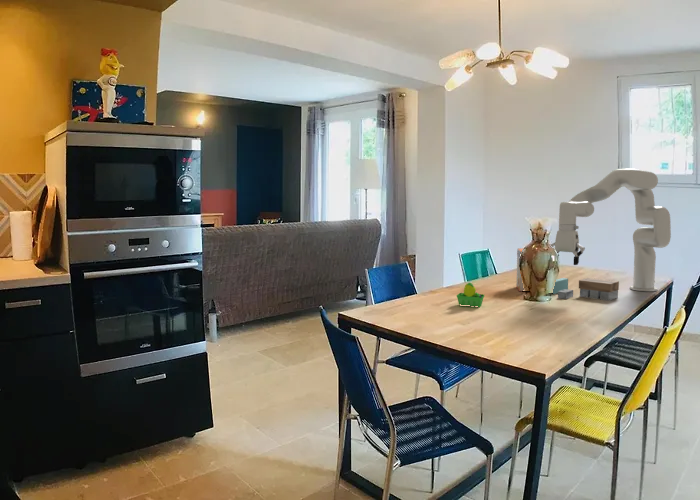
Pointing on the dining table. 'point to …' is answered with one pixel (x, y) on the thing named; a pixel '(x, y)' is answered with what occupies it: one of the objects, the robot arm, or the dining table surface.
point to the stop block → (560, 285)
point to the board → (599, 285)
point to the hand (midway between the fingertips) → (565, 263)
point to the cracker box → (519, 279)
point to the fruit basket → (470, 296)
